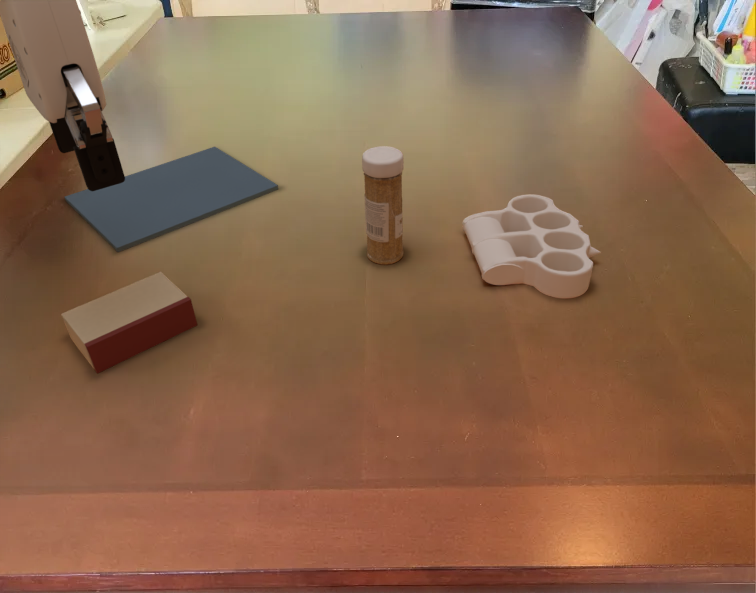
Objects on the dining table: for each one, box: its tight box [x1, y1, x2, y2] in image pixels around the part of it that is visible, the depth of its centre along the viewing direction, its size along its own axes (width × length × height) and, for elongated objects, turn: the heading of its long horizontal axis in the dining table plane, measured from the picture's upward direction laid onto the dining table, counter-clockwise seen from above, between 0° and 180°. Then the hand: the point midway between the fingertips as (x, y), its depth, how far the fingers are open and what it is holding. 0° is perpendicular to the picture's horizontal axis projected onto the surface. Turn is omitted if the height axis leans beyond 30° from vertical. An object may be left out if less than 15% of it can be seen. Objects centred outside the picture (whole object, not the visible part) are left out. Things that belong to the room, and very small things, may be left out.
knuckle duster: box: [462, 193, 603, 300], centre depth 78 cm, size 3×18×15 cm
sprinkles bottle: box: [361, 145, 405, 266], centre depth 76 cm, size 5×5×14 cm
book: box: [60, 271, 198, 374], centre depth 68 cm, size 11×7×4 cm, turn 131°
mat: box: [64, 146, 279, 253], centre depth 93 cm, size 24×18×1 cm
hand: (91, 166), depth 60 cm, fingers open, 9 cm apart
